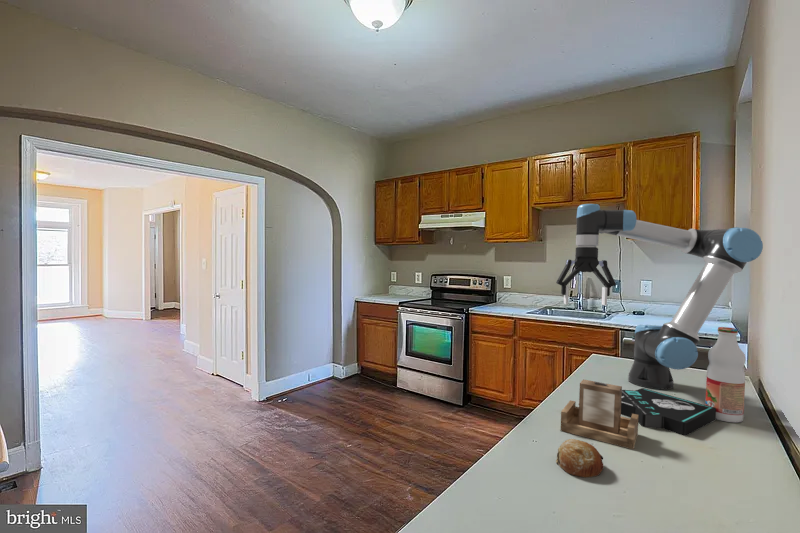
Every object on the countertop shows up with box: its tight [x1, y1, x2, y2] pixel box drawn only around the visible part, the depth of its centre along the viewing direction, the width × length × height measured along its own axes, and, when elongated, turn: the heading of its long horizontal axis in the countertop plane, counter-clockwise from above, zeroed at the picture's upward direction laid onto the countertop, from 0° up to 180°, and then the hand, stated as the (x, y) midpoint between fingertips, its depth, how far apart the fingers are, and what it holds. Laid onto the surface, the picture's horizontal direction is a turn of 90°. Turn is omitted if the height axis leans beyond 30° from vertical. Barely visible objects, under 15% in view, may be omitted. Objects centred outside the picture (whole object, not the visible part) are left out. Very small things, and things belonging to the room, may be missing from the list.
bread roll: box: [555, 438, 604, 478], centre depth 96 cm, size 10×10×8 cm
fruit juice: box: [704, 326, 746, 424], centre depth 126 cm, size 9×9×28 cm
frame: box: [578, 379, 623, 434], centre depth 114 cm, size 10×5×12 cm, turn 54°
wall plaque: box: [621, 387, 717, 437], centre depth 128 cm, size 30×4×30 cm
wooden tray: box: [560, 400, 639, 450], centre depth 114 cm, size 18×11×6 cm, turn 55°
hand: (584, 304), depth 149 cm, fingers open, 13 cm apart
